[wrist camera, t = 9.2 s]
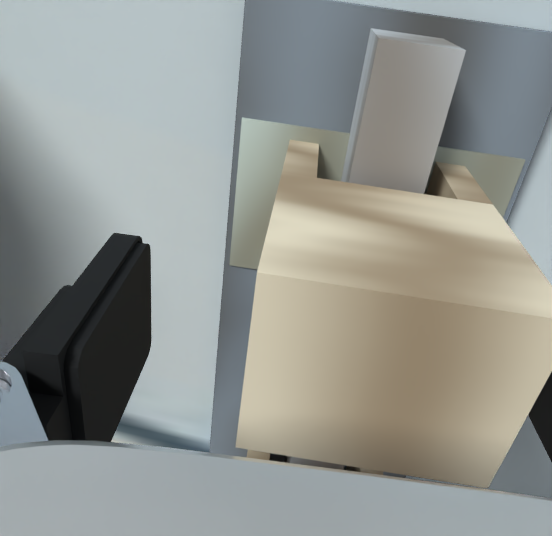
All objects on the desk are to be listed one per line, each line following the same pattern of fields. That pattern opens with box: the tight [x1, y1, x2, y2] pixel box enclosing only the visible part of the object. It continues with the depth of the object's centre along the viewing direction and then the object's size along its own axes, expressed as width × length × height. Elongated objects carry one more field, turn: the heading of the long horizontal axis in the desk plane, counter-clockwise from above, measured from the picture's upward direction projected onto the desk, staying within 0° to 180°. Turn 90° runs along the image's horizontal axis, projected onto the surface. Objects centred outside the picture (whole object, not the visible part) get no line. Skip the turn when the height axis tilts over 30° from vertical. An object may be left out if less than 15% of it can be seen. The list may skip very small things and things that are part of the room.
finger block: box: [235, 140, 552, 488], centre depth 13 cm, size 5×5×8 cm
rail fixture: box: [209, 0, 552, 478], centre depth 16 cm, size 9×24×9 cm, turn 173°
